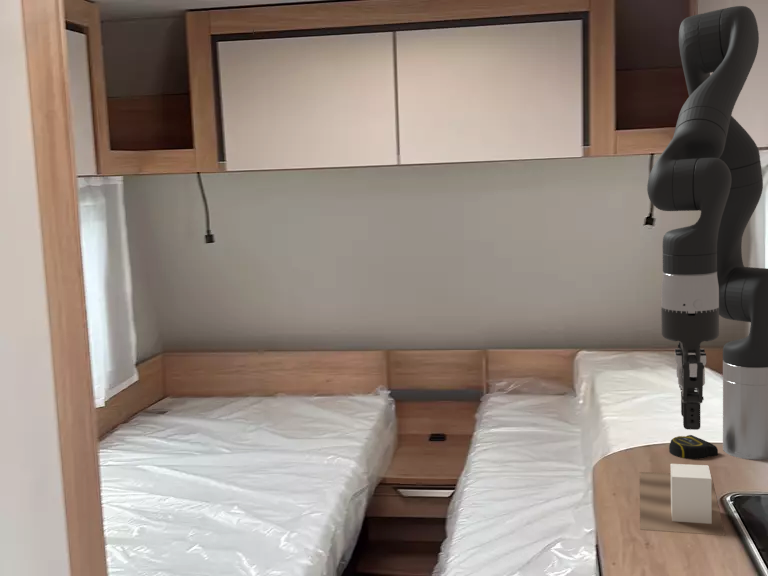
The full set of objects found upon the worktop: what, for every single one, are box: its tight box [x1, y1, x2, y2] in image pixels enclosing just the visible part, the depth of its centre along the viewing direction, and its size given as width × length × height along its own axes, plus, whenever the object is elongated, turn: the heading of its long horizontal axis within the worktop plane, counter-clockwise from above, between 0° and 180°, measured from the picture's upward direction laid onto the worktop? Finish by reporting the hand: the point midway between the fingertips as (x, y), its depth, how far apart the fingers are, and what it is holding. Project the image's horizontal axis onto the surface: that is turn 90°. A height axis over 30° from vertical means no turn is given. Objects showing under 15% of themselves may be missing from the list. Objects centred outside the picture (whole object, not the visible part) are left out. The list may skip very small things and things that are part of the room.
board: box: [639, 471, 726, 536], centre depth 125 cm, size 22×11×2 cm, turn 163°
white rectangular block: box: [670, 463, 712, 524], centre depth 119 cm, size 5×5×7 cm
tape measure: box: [668, 434, 719, 460], centre depth 144 cm, size 7×7×4 cm
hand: (690, 422), depth 117 cm, fingers open, 5 cm apart
